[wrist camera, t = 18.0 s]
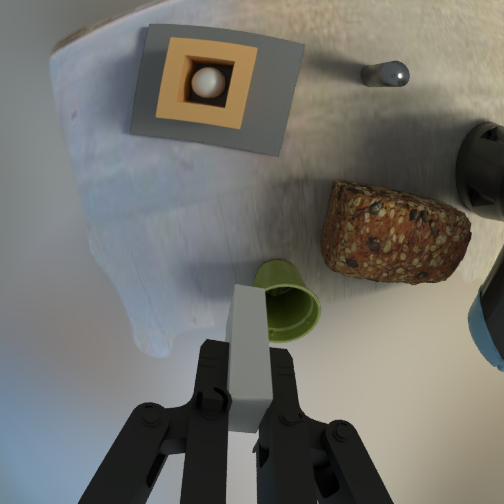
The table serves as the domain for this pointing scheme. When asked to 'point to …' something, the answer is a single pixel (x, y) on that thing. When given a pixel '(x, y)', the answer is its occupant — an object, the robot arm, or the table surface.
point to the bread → (392, 235)
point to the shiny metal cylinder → (385, 75)
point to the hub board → (258, 98)
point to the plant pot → (287, 302)
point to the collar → (183, 69)
